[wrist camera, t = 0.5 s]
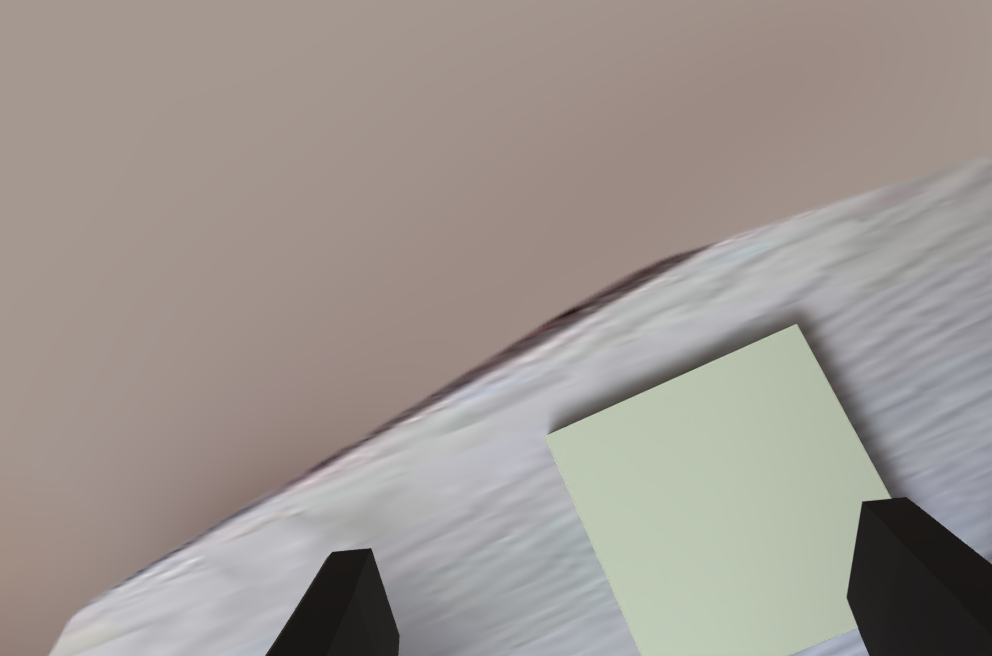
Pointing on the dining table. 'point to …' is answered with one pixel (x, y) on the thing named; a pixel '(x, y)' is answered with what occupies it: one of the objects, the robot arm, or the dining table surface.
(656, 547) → the board
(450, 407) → the dining table surface
